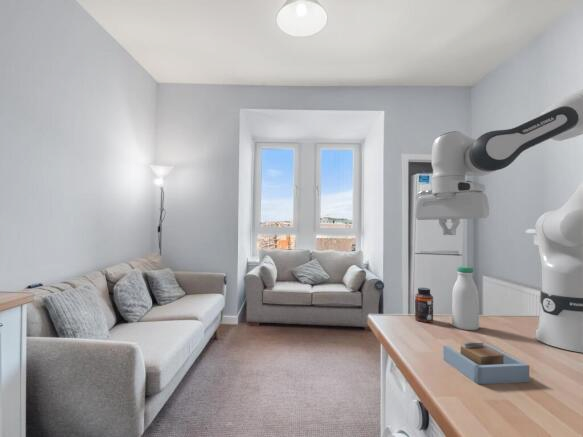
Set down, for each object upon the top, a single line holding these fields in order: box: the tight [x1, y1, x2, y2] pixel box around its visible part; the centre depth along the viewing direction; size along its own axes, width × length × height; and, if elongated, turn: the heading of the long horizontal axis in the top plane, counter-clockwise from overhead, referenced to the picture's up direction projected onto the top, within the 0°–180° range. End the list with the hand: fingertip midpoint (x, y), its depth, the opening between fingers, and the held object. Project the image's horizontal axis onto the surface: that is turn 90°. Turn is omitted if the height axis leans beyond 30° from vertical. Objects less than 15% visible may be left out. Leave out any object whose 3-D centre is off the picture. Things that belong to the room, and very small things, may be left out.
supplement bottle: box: [414, 287, 434, 323], centre depth 109 cm, size 6×6×11 cm
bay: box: [442, 343, 530, 385], centre depth 71 cm, size 12×12×4 cm
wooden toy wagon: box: [460, 340, 504, 365], centre depth 71 cm, size 7×6×6 cm
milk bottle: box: [451, 265, 480, 331], centre depth 102 cm, size 8×8×20 cm
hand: (449, 234), depth 89 cm, fingers closed
